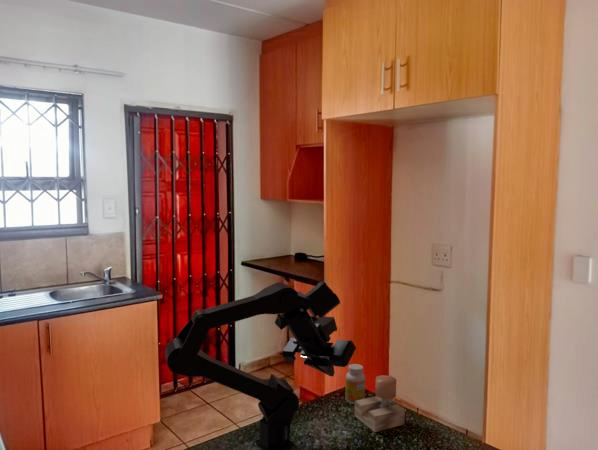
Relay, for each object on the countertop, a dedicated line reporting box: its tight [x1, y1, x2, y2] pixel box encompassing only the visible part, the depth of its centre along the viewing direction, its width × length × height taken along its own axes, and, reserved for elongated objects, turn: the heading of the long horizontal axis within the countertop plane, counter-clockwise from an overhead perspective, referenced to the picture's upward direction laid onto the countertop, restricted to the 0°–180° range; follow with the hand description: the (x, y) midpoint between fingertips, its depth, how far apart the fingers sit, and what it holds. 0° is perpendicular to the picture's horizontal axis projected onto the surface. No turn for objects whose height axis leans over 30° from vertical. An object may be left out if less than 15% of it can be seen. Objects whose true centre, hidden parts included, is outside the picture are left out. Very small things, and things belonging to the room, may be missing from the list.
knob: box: [374, 374, 397, 409], centre depth 120 cm, size 5×5×9 cm
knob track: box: [354, 395, 406, 433], centre depth 119 cm, size 9×9×4 cm
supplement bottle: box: [344, 363, 366, 405], centre depth 130 cm, size 5×5×10 cm
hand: (332, 374), depth 114 cm, fingers closed
